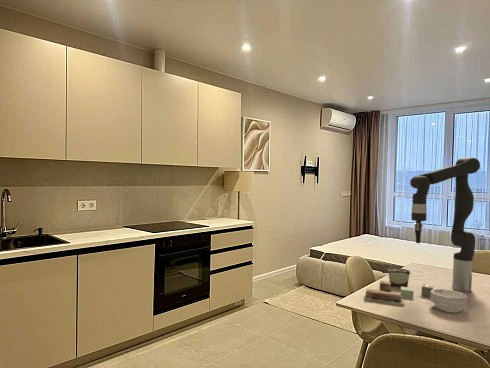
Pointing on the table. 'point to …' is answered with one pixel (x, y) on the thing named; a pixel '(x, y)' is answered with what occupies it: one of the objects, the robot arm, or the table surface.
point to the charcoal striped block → (426, 290)
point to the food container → (398, 277)
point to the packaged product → (384, 297)
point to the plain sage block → (407, 292)
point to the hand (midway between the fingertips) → (418, 242)
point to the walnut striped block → (385, 286)
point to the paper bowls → (448, 300)
